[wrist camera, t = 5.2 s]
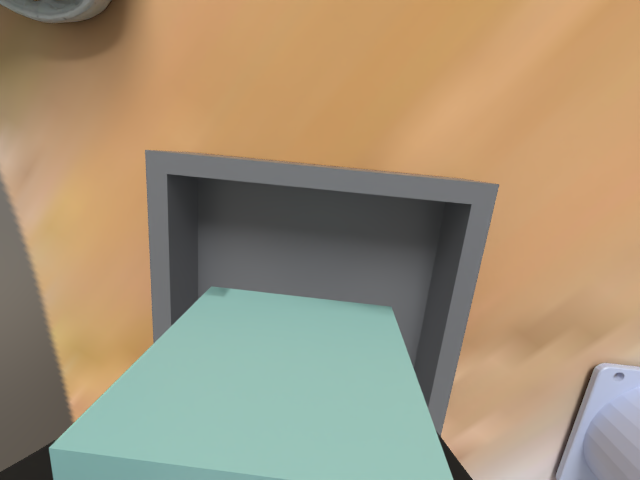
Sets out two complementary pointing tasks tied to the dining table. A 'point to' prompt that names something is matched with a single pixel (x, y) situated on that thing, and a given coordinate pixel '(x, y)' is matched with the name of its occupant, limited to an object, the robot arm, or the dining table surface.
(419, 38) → the dining table surface
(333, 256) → the big crate
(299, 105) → the dining table surface
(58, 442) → the small crate
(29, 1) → the ceramic mug
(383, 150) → the dining table surface
